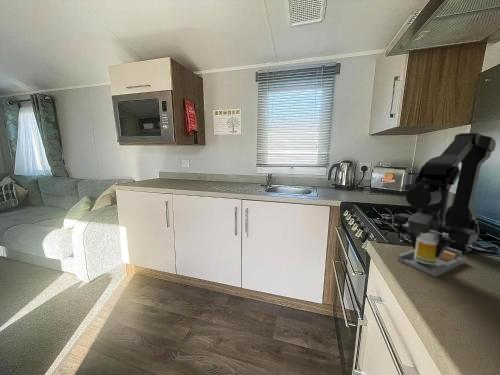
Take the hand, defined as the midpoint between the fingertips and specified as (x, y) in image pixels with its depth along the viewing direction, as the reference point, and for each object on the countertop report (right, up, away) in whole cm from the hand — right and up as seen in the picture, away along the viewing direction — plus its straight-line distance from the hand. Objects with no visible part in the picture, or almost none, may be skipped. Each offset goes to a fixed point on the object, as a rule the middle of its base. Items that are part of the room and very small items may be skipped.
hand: (425, 252), depth 63 cm
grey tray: (+4, -4, +2) cm, 5 cm away
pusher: (+8, -3, +4) cm, 10 cm away
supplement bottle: (0, -3, 0) cm, 3 cm away
